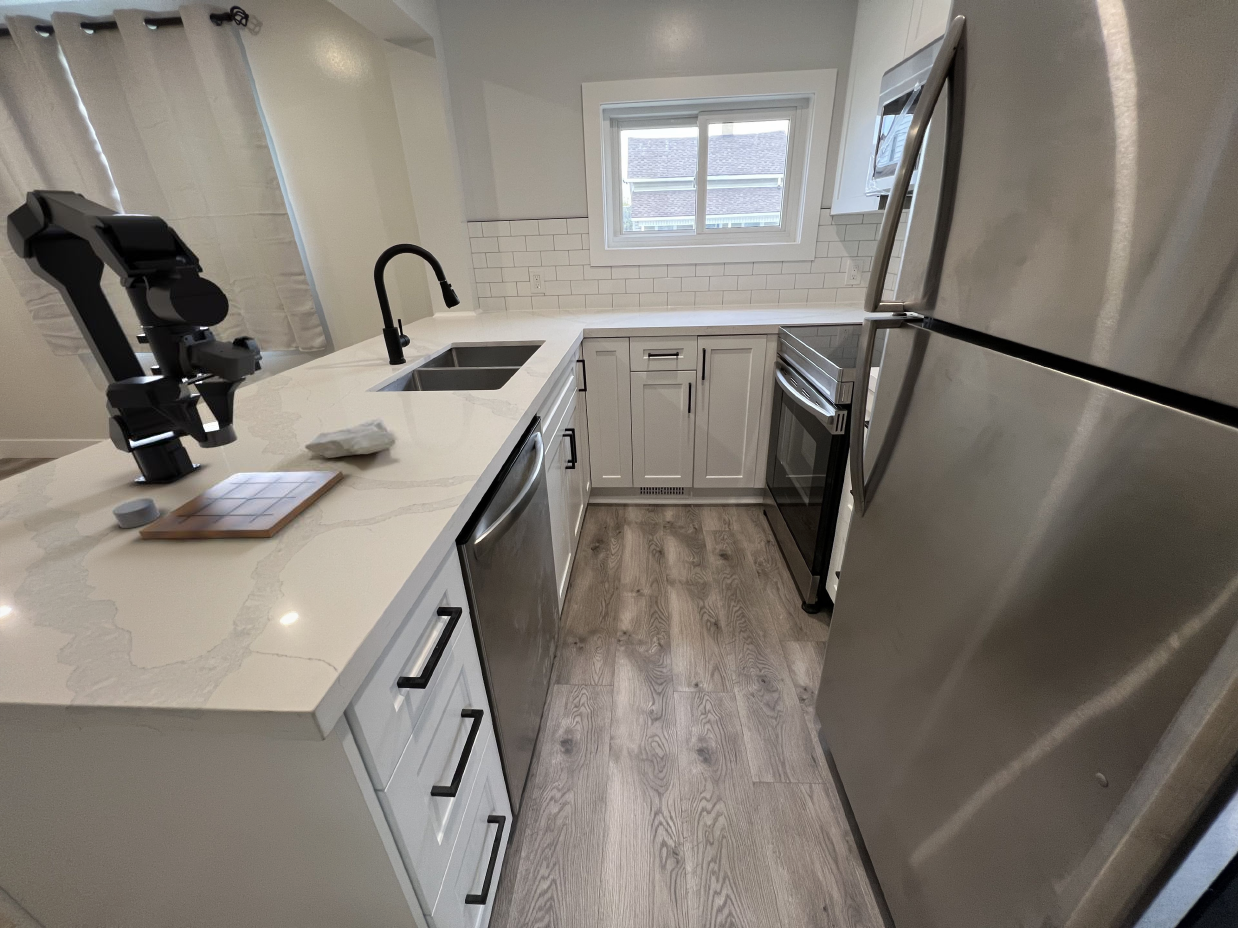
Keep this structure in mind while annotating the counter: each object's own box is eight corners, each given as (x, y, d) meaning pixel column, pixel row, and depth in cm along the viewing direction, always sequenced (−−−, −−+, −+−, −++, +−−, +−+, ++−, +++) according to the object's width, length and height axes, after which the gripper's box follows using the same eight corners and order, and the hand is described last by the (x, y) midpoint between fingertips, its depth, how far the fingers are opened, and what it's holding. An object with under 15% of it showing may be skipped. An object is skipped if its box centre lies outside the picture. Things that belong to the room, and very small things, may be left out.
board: (142, 538, 67) (138, 531, 66) (239, 479, 83) (236, 472, 83) (271, 537, 66) (267, 529, 66) (343, 477, 82) (341, 470, 82)
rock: (304, 484, 81) (400, 457, 86) (293, 458, 79) (391, 432, 84) (319, 448, 99) (397, 428, 104) (310, 426, 98) (389, 407, 102)
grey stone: (111, 528, 70) (103, 513, 69) (139, 512, 74) (132, 498, 73) (141, 528, 70) (133, 513, 69) (168, 512, 74) (161, 497, 73)
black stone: (191, 448, 69) (184, 432, 68) (216, 437, 73) (209, 421, 72) (222, 447, 69) (215, 431, 68) (244, 436, 73) (238, 420, 72)
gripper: (167, 334, 55) (220, 461, 62) (277, 311, 72) (310, 413, 79) (73, 338, 56) (135, 463, 62) (204, 314, 73) (242, 415, 79)
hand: (216, 435), depth 71 cm, fingers closed on black stone, 4 cm apart
